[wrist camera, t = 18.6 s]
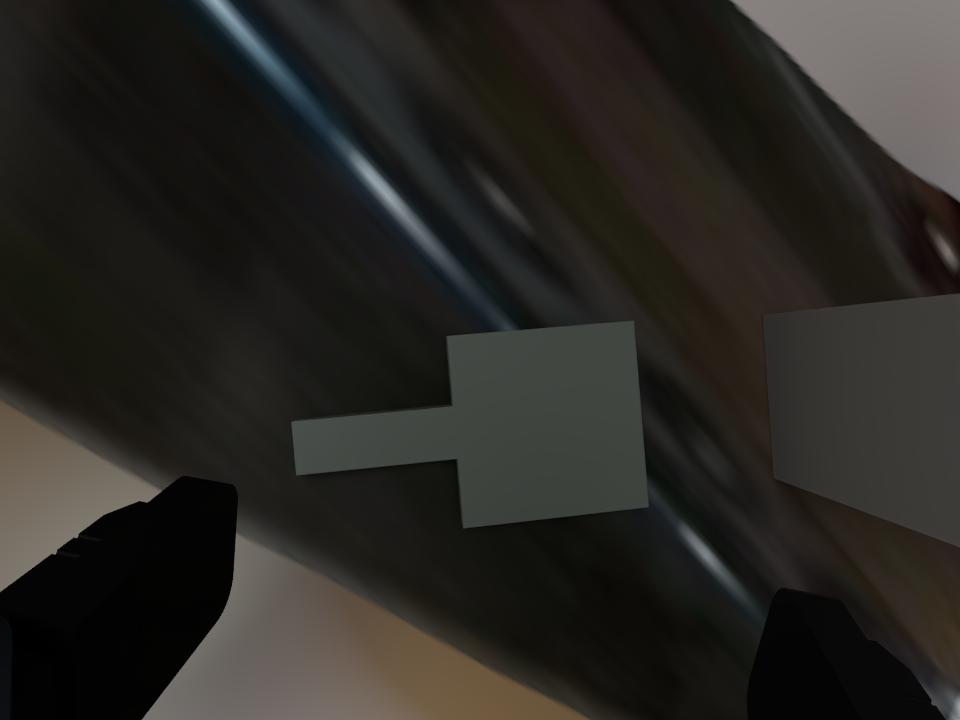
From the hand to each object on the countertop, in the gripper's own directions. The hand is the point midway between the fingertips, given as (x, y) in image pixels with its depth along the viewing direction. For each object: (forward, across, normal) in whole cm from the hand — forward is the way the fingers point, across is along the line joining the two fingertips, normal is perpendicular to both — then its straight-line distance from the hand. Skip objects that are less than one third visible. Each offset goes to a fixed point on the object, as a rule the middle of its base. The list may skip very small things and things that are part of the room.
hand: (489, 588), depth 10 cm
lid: (+30, +3, +9) cm, 32 cm away
